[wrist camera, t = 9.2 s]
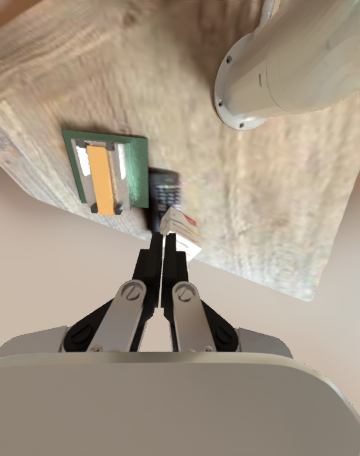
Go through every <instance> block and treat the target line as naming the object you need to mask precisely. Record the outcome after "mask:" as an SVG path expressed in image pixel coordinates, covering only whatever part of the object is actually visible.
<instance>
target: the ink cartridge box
mask: <svg viewBox="0 0 360 456" xmlns="http://www.w3.org/2000/svg"><path fill="white" fill-rule="evenodd" d="M160 232H161V234H163V254H162V258H163V259H164V249H165V237H166V234H168V235H169V233H176V251H185V252H186V260H187V271H190V268H189V264H188V262H189V261H190V260H191V259H192V258H193V257H194V256H195V255H196V254H197V253H198V252H199V251H200V250H201V244H200V240H199V235H198V231H197V226H196V222H195V221H193V220H191V219H190V218H188V217H187V216H185V215H184V214H182V213H181V212H179V211H178V210H176V209H175V208H173V207H170V208H169V209H168V211H167V212H166V213H165V215H164V216H163V218H162V219H161V225H160Z"/></svg>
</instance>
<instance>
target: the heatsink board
mask: <svg viewBox="0 0 360 456" xmlns="http://www.w3.org/2000/svg"><path fill="white" fill-rule="evenodd" d="M62 132H63V136H64V140H65V143H66V147H67V151H68V154H69V158H70V162H71V165H72V169H73V172H74V176H75V180H76V183H77V187H78V191H79V194H80V198H81V202H82V203H87V205H88V207H89V208H91V212H92V213H97V212H98V206H97V201H96V195H95V190H94V184H93V179H92V173H91V168H90V162H89V157H88V151H87V146H97V147H106V149H107V155H108V163H109V171H110V179H111V187H112V195H113V203H114V210H115V215H120V214H121V213H122V211H123V210H131V208H132V207H143V208H149V174H148V139H145V138H136V137H127V136H118V135H109V134H99V133H90V132H81V131H72V130H62Z"/></svg>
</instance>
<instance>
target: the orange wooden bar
mask: <svg viewBox="0 0 360 456" xmlns="http://www.w3.org/2000/svg"><path fill="white" fill-rule="evenodd" d="M87 151H88V157H89V162H90V168H91V173H92V179H93V184H94V190H95V195H96V201H97V206H98V212H99V214H102V215H114V214H115V211H114V203H113V195H112V187H111V179H110V171H109V163H108V155H107V149H106V147H97V146H87Z"/></svg>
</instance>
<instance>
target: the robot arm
mask: <svg viewBox="0 0 360 456" xmlns="http://www.w3.org/2000/svg"><path fill="white" fill-rule="evenodd" d="M274 3H275V0H265V1H264V4H263V8H262V13H261V19H260V23H259V26H258V27H257V28H256V29H255V30H254V32H252V33H249V34H247V35H245V36H244V37H242V38H241V39H239V40H238V41H237V42H236V43H235V44H234V45H233V46H232V47H231V49H230V50H229V51H228V53H227V54H226V56H225V57H224V59H223V61H222V63H221V65H220V67H219V69H218V72H217V76H216V79H215V86H214V101H215V107H216V110H217V113H218V115H219V117H220V119H221V120H222V121H223V122H224V123H225V124H226V125H227V126H228V127H230V128H232V129H235V130H250V129H253V128H256V127H258V126H260V125H261V124H263V123H264V122H265V121H266V120H268V119H269V118H271V117H279V116H287V115H294V114H302V113H307V112H314V111H318V110H322V109H325V108H327V107H330V106H332V105H335V104H337V103H338V102H340V101H342V100H344V99H345V98H347V97H349V96H350V95H352V94H353V93H354V92H356V91H357V90H358V89H360V0H281V1H280V5H279V8H278V11H277V12H276V13H275V14H274V15H273V17H272V18H271V19H270V17H271V14H272V10H273V6H274ZM227 60H229V63H227V62H226V61H227ZM219 103H221V106H219ZM240 124H241V127H239V125H240ZM162 254H163V234H161V232H153V234H152V239H151V244H150V248H149V249H141V250H140V253H139V256H138V260H137V263H136V267H135V270H134V274H133V277H132V280H129V281H127V282H125V283H124V284H123V285H122V286H121V287H120V288H119V290H118V292H117V294H116V296H115V298H113V299H112V300H110V301H109V302H107V303H106V304H104V305H103V306H101V307H100V308H98V309H97V310H95V311H94V312H92V313H90V314H89V315H87V316H86V317H84V318H83V319H82V320H80V321H78V322H77V323H76V324H75V325H73V326H71V327H67V326H62V327H57V328H52V329H48V330H44V331H38V332H34V333H29V334H24V335H20V336H17V337H15V338H12V339H11V340H9V341H7V342H6V343H4V344H3V345H2V346H1V347H0V456H360V416H359V414H358V413H357V412H356V410H355V409H354V407H353V406H352V405H351V403H350V402H349V401H348V400H347V398H346V397H345V396H344V395H343V393H342V392H341V391H340V390H339V389H338V388H337V387H336V386H335V385H334V384H333V383H332V382H331V381H330V380H329V379H328V378H326V377H325V376H324V375H322V374H321V373H319V372H318V371H316V370H314V369H313V368H311V367H309V366H307V365H305V364H303V363H301V362H299V361H296V360H294V359H293V357H292V355H291V352H290V350H289V348H288V347H287V346H286V345H285V343H283V342H282V341H281V340H280V339H278V338H275V337H272V336H269V335H265V334H261V333H257V332H254V331H250V330H246V329H243V328H239V329H236V328H233V327H232V326H231V325H230V324H229V323H228V322H227V321H226V320H225V319H223V318H222V317H221V316H220V315H218V314H217V313H216V312H215V311H214V310H213V309H212V308H210V307H209V306H208V305H207V304H206V303H205V302H203V301H202V300H201V299H200V296H199V293H198V290H197V288H196V287H195V286H194V285H193V284H192V283H189V281H188V271H187V260H186V252H185V251H176V233H169V235H168V234H166V237H165V249H164V261H163V273H162V275H163V276H162V292H161V308H164V316H165V318H166V319H167V320H168V321H169V329H170V338H171V347H172V352H139V350H140V346H141V343H142V339H143V335H144V332H145V329H146V325H147V320H148V319H150V318H151V317H152V316H153V313H154V310H155V308H156V307H157V308H158V302H159V291H160V279H161V269H162Z"/></svg>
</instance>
